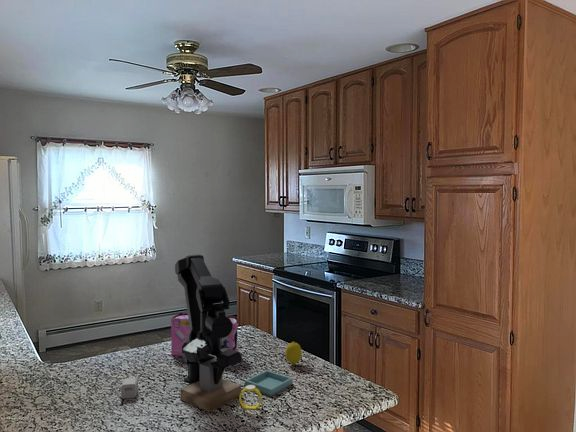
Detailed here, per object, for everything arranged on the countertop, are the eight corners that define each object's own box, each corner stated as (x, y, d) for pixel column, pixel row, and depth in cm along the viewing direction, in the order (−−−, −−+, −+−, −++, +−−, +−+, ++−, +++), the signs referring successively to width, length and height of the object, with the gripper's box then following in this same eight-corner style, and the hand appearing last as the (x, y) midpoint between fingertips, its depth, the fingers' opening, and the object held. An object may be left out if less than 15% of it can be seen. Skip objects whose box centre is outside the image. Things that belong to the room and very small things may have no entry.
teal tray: (244, 387, 135) (244, 380, 135) (266, 376, 143) (266, 370, 143) (271, 396, 129) (271, 389, 129) (292, 384, 137) (292, 378, 137)
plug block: (199, 388, 127) (199, 363, 127) (212, 382, 131) (212, 358, 131) (209, 392, 125) (209, 367, 124) (222, 386, 129) (222, 361, 128)
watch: (239, 411, 121) (237, 389, 121) (241, 406, 124) (239, 385, 123) (261, 410, 120) (259, 388, 120) (262, 405, 123) (261, 384, 123)
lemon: (300, 368, 149) (300, 344, 149) (283, 367, 151) (283, 343, 150) (302, 362, 155) (303, 339, 154) (287, 361, 156) (287, 338, 156)
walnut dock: (180, 399, 127) (180, 388, 127) (211, 384, 136) (211, 375, 136) (210, 411, 120) (210, 400, 119) (241, 395, 129) (241, 385, 129)
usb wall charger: (121, 398, 127) (120, 384, 127) (125, 388, 134) (124, 375, 134) (135, 397, 128) (135, 383, 128) (139, 387, 135) (139, 374, 134)
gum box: (241, 353, 163) (241, 316, 162) (233, 361, 156) (233, 322, 155) (180, 348, 169) (180, 312, 168) (170, 355, 161) (170, 317, 160)
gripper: (166, 328, 126) (166, 382, 127) (213, 341, 115) (213, 401, 116) (196, 319, 135) (197, 370, 136) (242, 331, 124) (242, 386, 125)
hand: (211, 381), depth 128 cm, fingers closed on plug block, 4 cm apart
